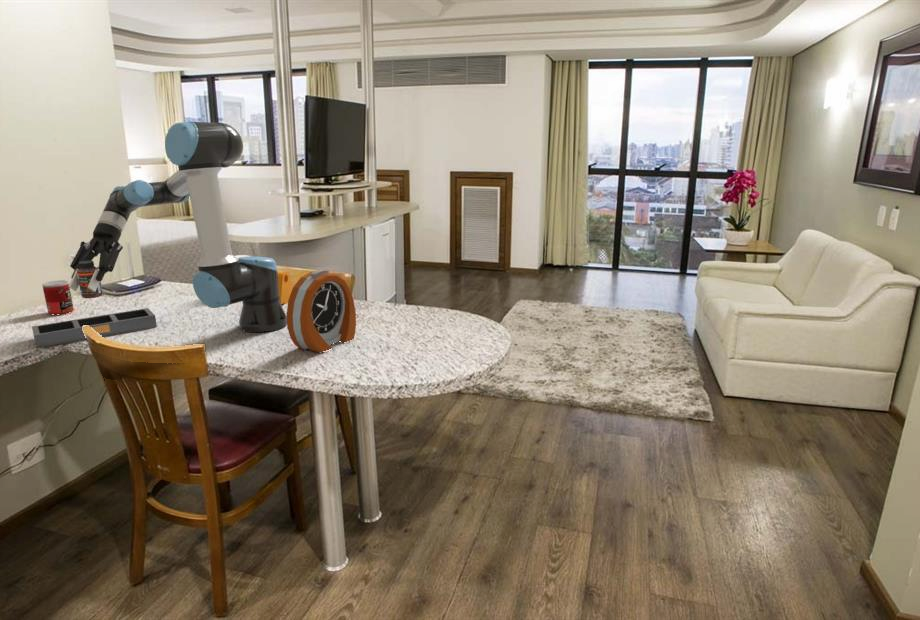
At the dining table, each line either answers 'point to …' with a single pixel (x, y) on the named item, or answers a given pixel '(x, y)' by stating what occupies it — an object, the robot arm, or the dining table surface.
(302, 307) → the alarm clock
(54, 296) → the canned food
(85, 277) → the supplement bottle
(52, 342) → the compartment tray
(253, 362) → the dining table surface
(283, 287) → the yellow cheese block
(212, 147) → the robot arm
